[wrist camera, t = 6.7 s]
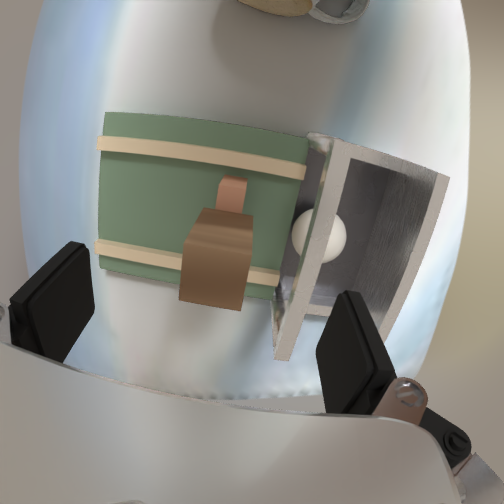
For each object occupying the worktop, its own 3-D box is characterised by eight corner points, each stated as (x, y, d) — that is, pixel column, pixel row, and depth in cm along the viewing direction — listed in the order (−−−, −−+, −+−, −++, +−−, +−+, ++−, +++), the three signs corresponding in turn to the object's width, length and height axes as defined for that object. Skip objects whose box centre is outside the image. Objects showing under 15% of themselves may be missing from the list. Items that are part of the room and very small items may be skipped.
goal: (307, 130, 21) (333, 136, 14) (402, 158, 22) (459, 179, 14) (268, 296, 27) (272, 360, 20) (353, 308, 27) (378, 368, 20)
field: (113, 112, 20) (100, 112, 18) (306, 138, 21) (312, 140, 19) (106, 260, 26) (95, 272, 24) (271, 290, 27) (272, 305, 25)
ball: (360, 224, 20) (344, 207, 23) (303, 212, 19) (295, 196, 23) (343, 277, 21) (330, 253, 25) (289, 268, 21) (283, 245, 25)
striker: (214, 172, 21) (187, 210, 13) (257, 180, 21) (258, 222, 13) (203, 250, 23) (177, 324, 15) (242, 257, 23) (235, 334, 15)
